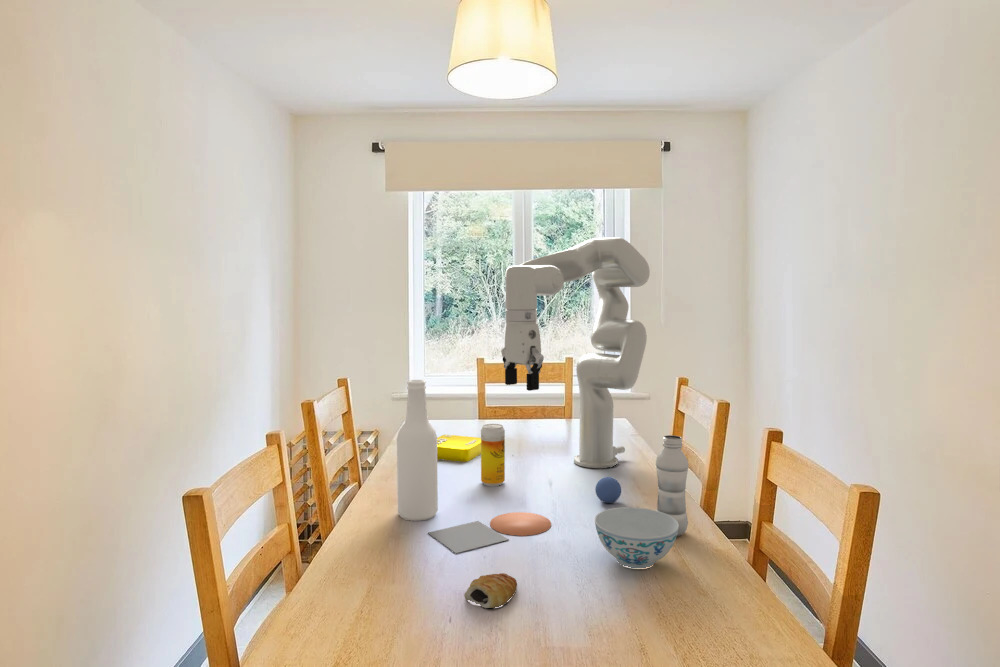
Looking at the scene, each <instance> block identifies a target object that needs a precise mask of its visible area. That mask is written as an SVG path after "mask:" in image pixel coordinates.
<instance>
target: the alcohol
mask: <svg viewBox="0 0 1000 667" xmlns="http://www.w3.org/2000/svg"><path fill="white" fill-rule="evenodd" d="M426 383H427V382H426V381H425V380H424V379H410V380H408V381H407V400H406V401H407V402H406V415H405V420H404V423H403V424H402V426H401V427H400V429H399V430H398V433H397V435H396V436H397V437H396V460H397V462H396V463H397V464H396V467H397V468H396V469H397V471H396V472H397V474H396V475H397V476H396V477H397V479H396V480H397V481H396V482H397V485H396V486H397V513H398V515H399V516H400V518H401V519H402V518H403V519H402V520H406V521H409V520H410V521H409V522H422V520H423V521H428V520H431V519H433V518H434V517H435V516H436V515H437V512H438V510H439V509H438V508H439V504H438V499H439V497H438V494H439V492H438V484H439V483H438V459H437V438H438V436H437V432H436V429H435V427H434V426H433V425H432V424H431V422H430V421H429V417H428V409H427V408H428V406H427V396H426V388H427V387H426Z"/></svg>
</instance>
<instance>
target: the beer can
mask: <svg viewBox="0 0 1000 667" xmlns="http://www.w3.org/2000/svg"><path fill="white" fill-rule="evenodd" d="M505 433H506V431H505V428H504V425H503V424H500V423H487V424H483V425H482V427H481V430H480V438H481V454H480V481H481V482H482V484H483V485H484V486H487V487H499V485H500V486H501V484H502V485H503V484H504V482H505V481H506V480H505V479H506V478H505V477H506V476H505V475H506V473H505V472H506V470H505V469H506V468H505V467H506V465H505V462H506V458H505V456H506V454H505V452H506V451H505V450H506V444H505V443H506V441H505V440H506V439H505V437H506V436H505Z"/></svg>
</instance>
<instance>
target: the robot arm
mask: <svg viewBox="0 0 1000 667" xmlns="http://www.w3.org/2000/svg"><path fill="white" fill-rule="evenodd" d="M650 273H651V270H650V266H649V263H648V261H647V260H646V259H645V256H643V255H642V254H641V253H640V252H639V251H638V250H637V248H635V247H634V246H633V245H632V244H631V243H630V242H628V240H626V239H624V238H622V237H620V236H619V237H618V236H617V237H616V236H614V237H598V238H597V237H596V238H590V239H588V240H585V241H583V242H581V243H579V244H577V245H574V246H572V247H570V248H568V249H565V250H561V251H557V252H553V253H550V254H548V255H543V256H540V257H536V258H533V259H530V260H526V261H524V262H523V263H520V264H519V265H512V266H508V267H507V268H506V270H505V333H504V347H503V348H502V349H501V351H500V352H501V357H502V362H503V368H504V384H505V385H506V386H511V385H512V386H513V385H517V383H518V368H517V367H516V366H517V365H522V366H525V368H526V371H527V373H526V391H538V390H539V389H540V373H541V369H542V368H543V362H544V358H545V357H544V355H543V354H542V344H541V343H542V341H541V334H540V327H539V323H538V299H537V298H538V297H539V296H541V297H542V296H543V297H544V296H545V297H546V296H547V297H548V296H549V297H550V296H554V295H556V294H558V293H560V292H561V290H562V289H563V287H564V285H565V283H568V282H572V281H578V280H580V279H582V278H583V277H585V276H589V275H590V274H592V279H593V282H594V284H595V287H596V289H597V292H598V297H599V298H598V299H599V304H598V310H597V312H596V313H597V314H596V318H595V320H594V324H593V328H592V331H591V334H590V336H591V337H590V343H591V345H592V347H593V348H594V349H596V350H597V351H603V352H608V353H600V352H591V353H586V354H583V355H582V356H581V357H580V358H579V359H578V361H577V363H576V367H575V368H576V377H577V382H578V391H579V438H578V439H579V450H578V451H579V452H578V454H577V455H575V456H574V458H573V462H574V464H575V465H577V466H580V467H584V468H588V469H608V468H607V467H610V468H613V467H612V466H614V465H616V464H617V465H619V459H618V457H616V456H617V455H618V454H624V453H625V452H626V448H625V446H617V447H616V446H614V400H613V397H612V394H611V391H609V389H613V390H623V391H626V390H627V391H628V390H630V389H632V388H633V387H634V386H635V385H636V382H637V379H638V377H639V375H640V374H639V373H640V370H641V369H640V368H641V366H642V362H643V359H644V354H645V349H646V345H647V330H646V326H644V324H643V323H642V322H641V321H639V320H637V319H629V318H628V313H629V307H630V306H629V303H628V300H627V297H626V296H625V295H624V293H623V292H622V290H621V288H639V287H642V286H644V285H645V284H647V283H648V280H649V278H650V276H651V274H650ZM537 296H538V297H537ZM627 318H628V319H627ZM611 353H620V354H611ZM617 465H616V466H617ZM614 467H615V466H614Z"/></svg>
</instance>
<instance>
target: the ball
mask: <svg viewBox="0 0 1000 667" xmlns="http://www.w3.org/2000/svg"><path fill="white" fill-rule="evenodd" d="M594 491H595V494H596V497H597V498H598V499H599V500H600V501H601V502H603V503H606V504H613V503H615V502H617V501H618V500H619V499H620V497H621V495H622V486H621V484H620V482H619V481H618V480H617V479H616V478H614V477H613V476H605V477H602V478H600V479H599V480H598V481H597V483H596V485H595V490H594Z"/></svg>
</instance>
